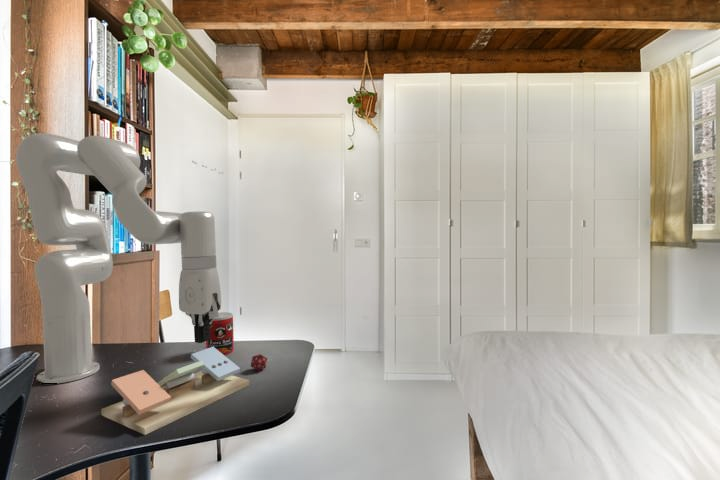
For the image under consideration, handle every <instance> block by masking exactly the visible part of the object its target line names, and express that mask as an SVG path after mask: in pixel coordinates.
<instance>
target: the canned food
mask: <svg viewBox="0 0 720 480" xmlns="http://www.w3.org/2000/svg"><path fill="white" fill-rule="evenodd" d="M218 314H219V317H217V318H213V319H212V323H211V324H210V335H211V339H210V340H209V341H206V342H205V349H208V348H211V347H214V348H216V349H217V350H218V351H219V352H221V353H222V354H223V355H224V356H226V355H229V354H231V353H233V351H234V349H235V344H234V343H235V341H234V315H233V313H232V312H225V311H223V312H218Z"/></svg>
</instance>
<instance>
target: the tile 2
mask: <svg viewBox="0 0 720 480" xmlns="http://www.w3.org/2000/svg"><path fill="white" fill-rule="evenodd" d="M203 365H204V362H203V360H201V361H199V362H193V363H191V364H188V365H185V366H182V367H179V368H176V369H175V370H174V371H172V372H170V373H169V374H168V375H166V376H165V377H163V378H162V379H160V380H159V381H158V382H156V383H157V384H158V385H160V386H161V387H164V386H166V387H167V388H168V389H169V388H172V387H174V386H177V385H179V384H182V383H184V382H187V381H189V380H192V379H194V374H195V373H194V372H195V371H197V370H199V368H202V367H201V366H203Z"/></svg>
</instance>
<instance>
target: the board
mask: <svg viewBox="0 0 720 480" xmlns="http://www.w3.org/2000/svg"><path fill="white" fill-rule="evenodd" d="M193 374H194V379H192V380H189V381H187V382H184V383H182V384H179V385H177V386H174V387H172V388H169V389H168V388H167V387H166V386H164V387H162V388H163V389H164V390H165V391H166V392H167V393H168V394H169V395H170V396H171V401H170V402H168V403H165V404H163V405H161V406H158V407H156V408H154V409H151V410H149V411H147V412H144V413H142V414H140V415H139V414H138V413H137V412H136V411H135V410H134V409H133V408H132V407H131V406H130V405H126V406H125V405H124V403H123V400H122V401H119V402H117V403H114V404H111V405H108V406H106V407H103V408H101V409H100V412H101V413H100V414H101V416H103V417H104V418H106V419H109V420H111V421H113V422H116V423H117V424H120V425H122V426H124V427H127V428H128V429H130V430H133V431H135V432H137V433H140V434H142V435H144V436H146V435H148V434H150V433H152V432H154V431H156V430H158V429H161V428H162V427H163V428H164V427H165V426H167V425H169V424H171V423H174V422H175V421H177V420H179V419H182V418H184V417H185V416H188V415H190V414H192V413H194V412H196V411H198V410H200V409H203V408H205V407H207V406H209V405H211V404H213V403H215V402H217V401H219V400H221V399H223V398H225V397H227V396H230V395H231V394H233V393H235V392H238V391H240V390H242V389H243V388H246V387H248V386H250V380H249V379H247V378H243V377H239V376H235V375H231V376H229V377H226V378H224V379H222V380H219V381H217V380H216V379H215V378H213V377H212V376H211V375H210V374H209V373H207V374H205V375H204V374H203V373H202V370H200V371H198V372H195V373H193Z"/></svg>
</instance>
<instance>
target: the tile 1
mask: <svg viewBox="0 0 720 480" xmlns="http://www.w3.org/2000/svg"><path fill="white" fill-rule="evenodd" d="M157 383H158V382H157V381H156V380H155V379H153V377H152V376H150V375H149V374H148V373H147V372H146V370H144V369H141V370H138V371H135V372H132V373H130V374H125V375H123V376H120V377H117V378H114V379H112V380H111V383H110V385H111V386H112V387H113V388H114V389H115V391H116V392H117V393H118V394H119V395H120V396H121V398H123V399H122V401H123V403H124V405H125V406H126V405H130V406H131V407H132V408H133V409H134V410H135V411H136V412H137V413H138V414H139V415H140V414H142V413H144V412H147V411H149V410H151V409H154V408H156V407H158V406H161V405H163V404H165V403H168V402H170V401H171V396H170V395H169V394H168V393H167V392H166V391H165V390H164V389H163V388H162V387H161V386H160V385H158V384H157Z"/></svg>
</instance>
